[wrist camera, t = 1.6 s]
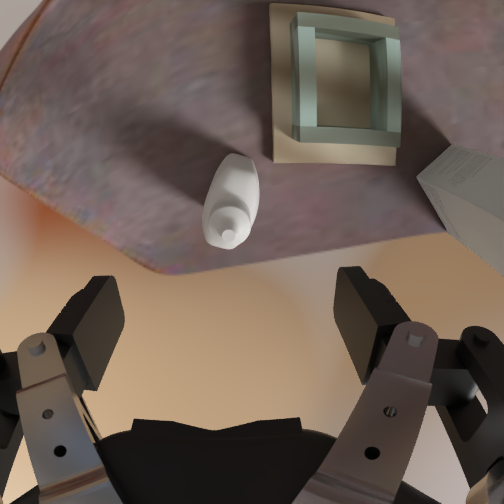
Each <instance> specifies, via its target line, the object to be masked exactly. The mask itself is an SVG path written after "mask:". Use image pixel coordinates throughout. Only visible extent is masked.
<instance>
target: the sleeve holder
mask: <svg viewBox="0 0 504 504" xmlns="http://www.w3.org/2000/svg"><path fill="white" fill-rule="evenodd" d="M269 16H270V47H271V85H272V142H273V162H274V163H342V164H369V165H388V166H395V164H396V147H398V148H400V142H401V107H402V89H401V55H400V38H399V27H397V26H395V22H394V18H389V17H385V16H380V15H375V14H370V13H364V12H358V11H352V10H346V9H339V8H331V7H322V6H312V5H300V4H283V3H270V6H269Z"/></svg>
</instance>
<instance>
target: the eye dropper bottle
mask: <svg viewBox="0 0 504 504" xmlns="http://www.w3.org/2000/svg"><path fill="white" fill-rule="evenodd" d="M258 204H259V181H258V176H257V172H256V169H255V165H254V163H253V161H252V159H250V158H248V157H245V156H242V155H239V154H235V153H230V154H229V155H227V156H226V157H225V158H224V160H223V161H222V162H221V164H220V165H219V167H218V169H217V171H216V173H215V175H214V178H213V180H212V183H211V186H210V188H209V191H208V194H207V197H206V200H205V204H204V208H203V217H202V223H203V232H204V237H205V239H206V241H207V243H209V244H210V245H213V246H216V247H220V248H224V249H233V248H235V247H236V246H237V245H239V244H240V243H241V242H243V241H245V239H246V238H247V237H248V236H249V234H250V230H251V227H252V225H253V222H254V220H255V217H256V214H257V210H258Z"/></svg>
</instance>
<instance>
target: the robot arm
mask: <svg viewBox="0 0 504 504" xmlns="http://www.w3.org/2000/svg"><path fill="white" fill-rule="evenodd" d="M333 308H334V318H335V322H336V324H337V326H338V329H339V331H340V333H341V336H342V338H343V340H344V342H345V345H346V347H347V350H348V352H349V354H350V356H351V359H352V361H353V364H354V366H355V369H356V371H357V373H358V376H359V378H360V381H361V383H362V385H366V384H367V385H366V387H365V389H364V390H363V392H362V394H361V396H360V398H359V400H358V402H357V404H356V406H355V408H354V410H353V411H352V413H351V415H350V417H349V419H348V421H347V422H346V425H345V426H344V428H343V430H342V431H341V433H340V435H339V436H338V438H335V437H333V436H331V435H328V434H325V433H322V432H318V431H314V430H309V429H302V426H301V421H300V418H299V417H298V418H287V419H276V420H260V421H255V422H251V423H247V424H243V425H239V426H234V427H230V428H226V429H221V430H207V429H203V428H198V427H194V426H190V425H185V424H182V423H178V422H174V421H159V420H144V419H134V420H133V424H132V428H131V430H129V431H123V432H119V433H116V434H112V435H110V436H107V437H105V438H102V436H101V434H100V433H99V431H98V428H97V426H96V424H95V422H94V420H93V418H92V416H91V414H90V411H89V409H88V407H87V405H86V403H85V400H84V398H83V397H82V393H83V391H84V390H92V391H97V390H98V387H99V385H100V382H101V380H102V377H103V375H104V372H105V370H106V367H107V365H108V363H109V360H110V358H111V355H112V353H113V351H114V348H115V346H116V344H117V342H118V339H119V337H120V335H121V332H122V330H123V327H124V321H125V319H124V318H125V317H124V311H123V307H122V303H121V299H120V296H119V291H118V287H117V283H116V279H115V278H114V276H94V277H92V279H91V280H90V281H89V282H88V284H87V285H86V287H85V288H84V289H81V290H80V291H79V292H77V293H76V294H74V295H73V296H72V297H71V298H70V300H69V301H68V302H67V304H66V306H64V308H63V309H62V311H61V313H59V315H58V316H57V317H56V319H55V320H54V322H53V323H52V324H51V326H50V327H49V329H48V330H47V332H46V333H37V334H34V335H31V336H29V337H27V338H26V339H25V340H24V341H22V342H21V344H20V345H19V347H18V349H17V351H15V352H8V353H2V352H1V350H0V504H3V501H2V497H3V493H4V490H5V487H6V483H7V480H8V477H9V474H10V471H11V468H12V465H13V462H14V459H15V457H16V454H17V451H18V449H19V446H20V443H21V440H22V438H23V435H24V437H25V441H26V445H27V448H28V453H29V456H30V460H31V463H32V467H33V469H34V473H35V476H36V479H37V482H38V485H37V486H35V487H34V488H32V489H31V490H29V491H28V492H26V493H25V494H24V495H22V496H21V497H19V498H17V499H16V500H15V501H13V502H12V503H10V504H441V503H439V502H438V501H436V500H434V499H432V498H431V497H429V496H427V495H425V494H424V493H422V492H420V491H419V490H417V489H415V488H414V487H412V486H410V485H409V484H407V483H406V482H404V481H402V479H403V476H404V474H405V471H406V468H407V466H408V463H409V460H410V458H411V455H412V452H413V449H414V446H415V443H416V440H417V437H418V434H419V431H420V428H421V425H422V421H423V418H424V415H425V411H426V408H427V406H435V407H436V410H437V412H438V414H439V416H440V418H441V420H442V422H443V424H444V427H445V429H446V431H447V434H448V436H449V438H450V440H451V443H452V445H453V447H454V450H455V452H456V454H457V457H458V459H459V461H460V464H461V467H462V469H463V472H464V474H465V477H466V479H467V482H468V485H469V487H470V491H469V493H468V495H467V498H466V504H504V345H503V343H502V342H501V341H500V340H499V338H498V337H497V336H496V335H495V334H494V333H493V332H492V331H490V330H488V329H486V328H483V327H480V326H470V327H467V328H465V329H464V330H463V332H462V334H461V337H460V339H459V340H449V339H438V335H437V333H436V332H435V331H434V330H433V329H432V328H431V327H429V326H427V325H425V324H423V323H420V322H413V321H411V320H410V318H409V317H408V316H407V314H406V313H405V312H404V310H403V309H402V307H401V306H400V305H399V304H398V302H396V300H395V298H394V297H393V296H392V295H391V293H390V292H389V290H388V289H387V288H386V286H385V285H383V284H382V283H380V282H379V281H377V280H376V279H369V277H368V276H367V275H366V273H365V272H364V271H363V269H362V268H361V267H360V266H352V267H340V268H339V269H338V272H337V280H336V289H335V298H334V307H333ZM478 389H480V391H481V393H482V394H483V396H484V398H485V399H486V401H487V405H488V413H487V414H486V412H485V410H484V409H483V407H482V405H481V403H480V402H479V400H478V398H477V397H476V393H477V391H478Z"/></svg>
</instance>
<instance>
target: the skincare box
mask: <svg viewBox="0 0 504 504" xmlns="http://www.w3.org/2000/svg"><path fill="white" fill-rule="evenodd" d="M416 178H417V180H418V182H419V183H420V185H421V187H422V188H423V190H424V192H425V193H426V195H427V197H428V198H429V200H430V202H431V204H432V205H433V207H434V209H435V210H436V212H437V214H438V216H439V217H440V219H441V221H442V222H443V224H444V226H445V228H446V230H447V232H448V233H449V234H450V235H451V236H453V237H454V238H455V239H457V240H458V241H459V242H461V243H462V244H463V245H465V246H466V247H468V248H469V249H470V250H471V251H473V252H474V253H475V254H477V255H478V256H479V257H480V258H481V259H483V260H484V261H485V262H487V263H488V264H489V265H490V266H492V267H493V268H494V269H495V270H497V271H498V272H499V273H500V274H501V275H503V276H504V158H501V157H498V156H495V155H491V154H488V153H484V152H481V151H477V150H474V149H470V148H466V147H462V146H458V145H454V144H452V145H451V146H449V147H448V148H447V149H446V150H445V151H444V152H443V153H442V154H441V155H440V156H438V157H437V158H436V159H435V160H434V161H433V162H432V163H431V164H430V165H428V166H427V167H426V168H425V169H424V170H423V171H422V172H421V173H419V174H418V175H417V177H416Z"/></svg>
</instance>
